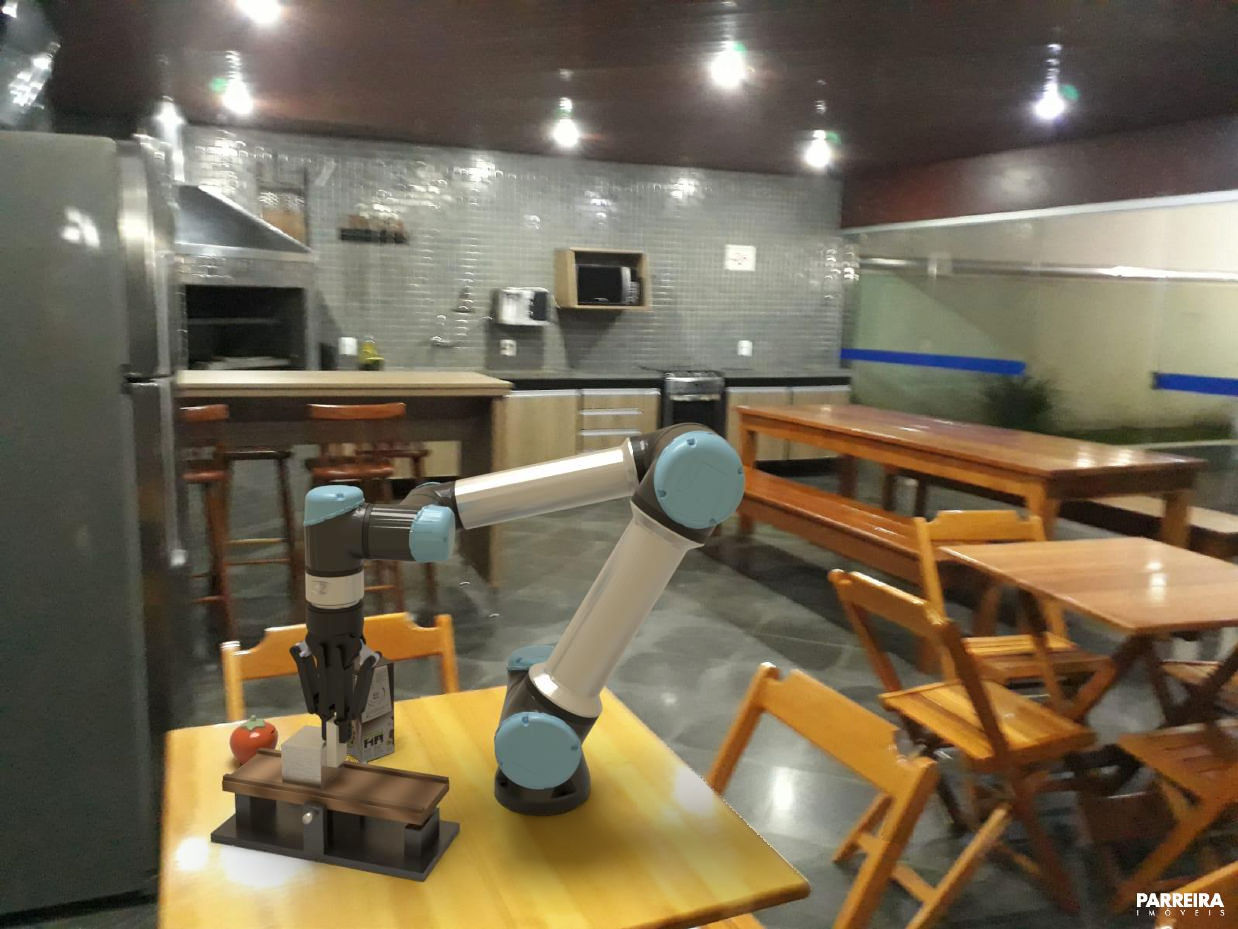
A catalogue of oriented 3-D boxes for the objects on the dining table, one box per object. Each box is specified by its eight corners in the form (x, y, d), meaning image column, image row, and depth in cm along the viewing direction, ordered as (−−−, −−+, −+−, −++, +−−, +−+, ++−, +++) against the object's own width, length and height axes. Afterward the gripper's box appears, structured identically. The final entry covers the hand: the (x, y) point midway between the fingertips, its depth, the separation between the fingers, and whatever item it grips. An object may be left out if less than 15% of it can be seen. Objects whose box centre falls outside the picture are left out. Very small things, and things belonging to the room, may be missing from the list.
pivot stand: (464, 824, 127) (464, 774, 126) (417, 889, 112) (417, 833, 111) (270, 791, 134) (268, 743, 132) (202, 848, 119) (200, 794, 118)
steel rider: (344, 769, 125) (343, 730, 124) (321, 791, 119) (320, 750, 118) (306, 763, 126) (305, 725, 125) (282, 784, 120) (281, 744, 119)
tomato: (280, 767, 141) (279, 721, 140) (230, 776, 138) (228, 729, 136) (277, 746, 147) (276, 702, 146) (229, 754, 144) (228, 709, 143)
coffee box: (396, 752, 147) (395, 661, 145) (361, 764, 143) (360, 672, 140) (368, 732, 153) (367, 646, 151) (334, 744, 149) (333, 655, 146)
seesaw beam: (449, 790, 123) (449, 776, 123) (421, 825, 114) (421, 810, 114) (262, 759, 129) (261, 746, 129) (222, 791, 121) (221, 777, 120)
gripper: (275, 603, 115) (279, 768, 119) (365, 614, 112) (366, 783, 116) (307, 587, 122) (310, 743, 126) (392, 597, 119) (392, 756, 123)
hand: (337, 762), depth 121 cm, fingers closed
